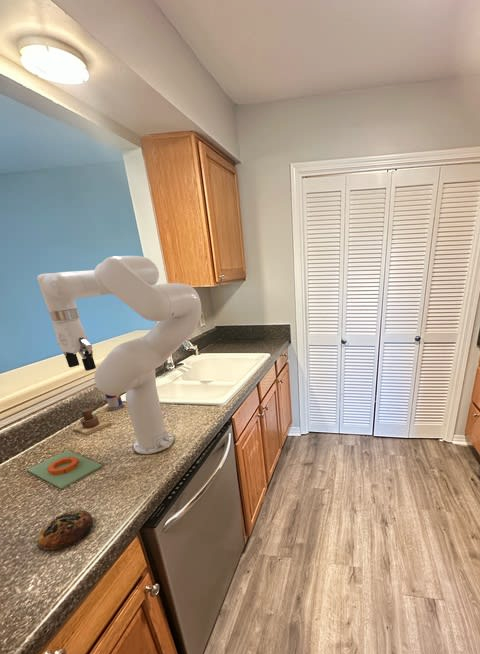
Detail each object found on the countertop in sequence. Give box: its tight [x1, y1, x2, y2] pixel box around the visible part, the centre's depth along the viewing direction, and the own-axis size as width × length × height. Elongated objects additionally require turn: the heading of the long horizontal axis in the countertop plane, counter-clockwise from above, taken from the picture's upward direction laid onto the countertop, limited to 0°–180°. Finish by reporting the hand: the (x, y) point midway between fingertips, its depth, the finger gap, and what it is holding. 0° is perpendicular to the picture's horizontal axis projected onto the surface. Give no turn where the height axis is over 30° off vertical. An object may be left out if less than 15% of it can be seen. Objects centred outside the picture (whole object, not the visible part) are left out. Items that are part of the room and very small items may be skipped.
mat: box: [26, 449, 103, 490], centre depth 100 cm, size 20×12×1 cm, turn 61°
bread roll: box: [36, 509, 93, 551], centre depth 75 cm, size 11×11×5 cm
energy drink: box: [104, 394, 124, 411], centre depth 140 cm, size 5×5×12 cm
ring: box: [47, 456, 80, 475], centre depth 100 cm, size 8×8×1 cm
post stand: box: [72, 407, 111, 436], centre depth 124 cm, size 9×9×8 cm
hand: (82, 367), depth 108 cm, fingers open, 9 cm apart
